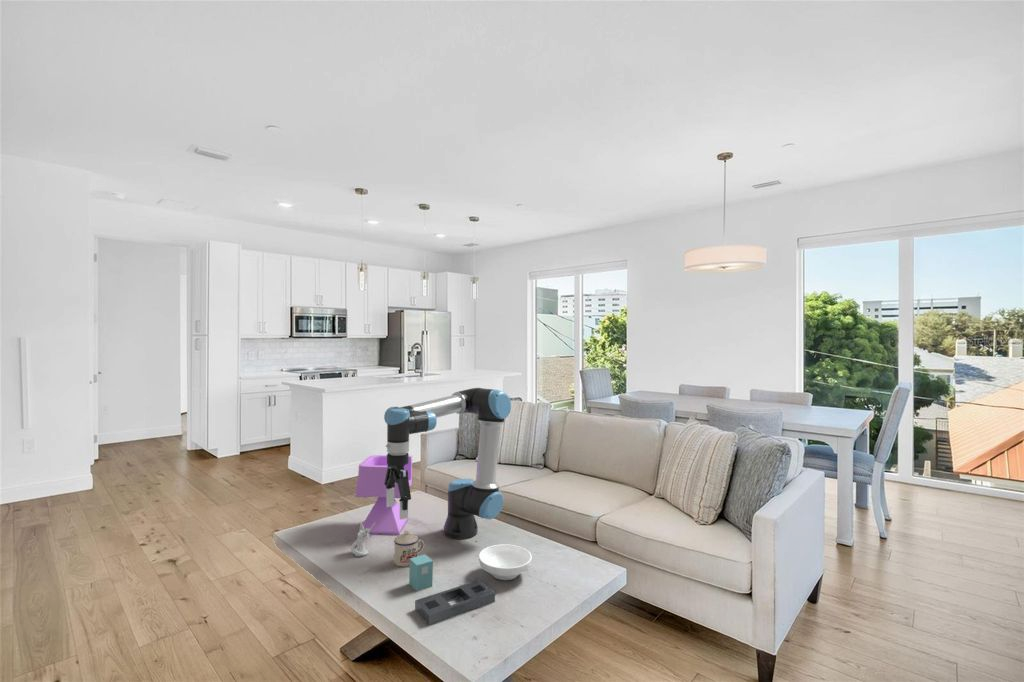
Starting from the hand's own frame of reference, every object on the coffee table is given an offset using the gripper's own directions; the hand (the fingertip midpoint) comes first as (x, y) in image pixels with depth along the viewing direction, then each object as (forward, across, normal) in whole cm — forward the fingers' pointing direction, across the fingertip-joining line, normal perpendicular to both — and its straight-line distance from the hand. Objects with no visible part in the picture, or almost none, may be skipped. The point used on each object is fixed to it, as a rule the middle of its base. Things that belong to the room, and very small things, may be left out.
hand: (396, 512), depth 173 cm
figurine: (+25, -28, -3) cm, 38 cm away
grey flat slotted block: (+24, +25, +11) cm, 37 cm away
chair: (+25, -49, +12) cm, 56 cm away
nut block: (+24, +7, +6) cm, 26 cm away
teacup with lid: (+25, -12, +10) cm, 29 cm away
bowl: (+25, +16, +36) cm, 47 cm away
